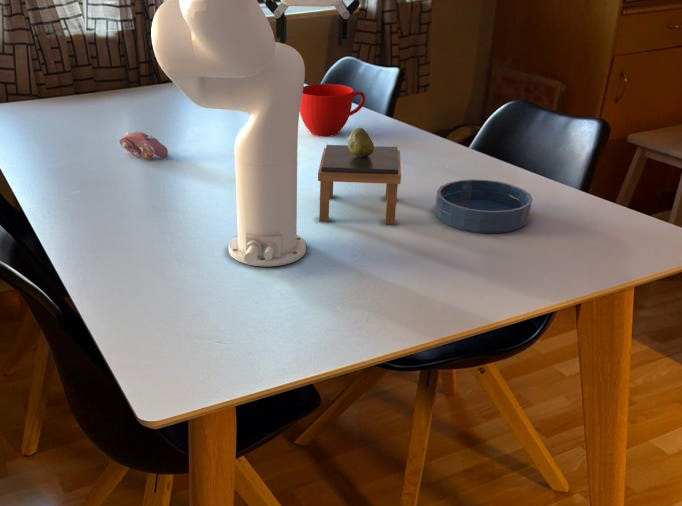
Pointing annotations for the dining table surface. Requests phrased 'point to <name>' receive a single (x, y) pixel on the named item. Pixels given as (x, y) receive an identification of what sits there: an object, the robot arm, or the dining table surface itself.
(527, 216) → the bowl
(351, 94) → the ceramic cup
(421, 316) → the dining table surface
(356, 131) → the lime
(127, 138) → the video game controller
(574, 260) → the dining table surface
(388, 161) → the stool
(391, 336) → the dining table surface
